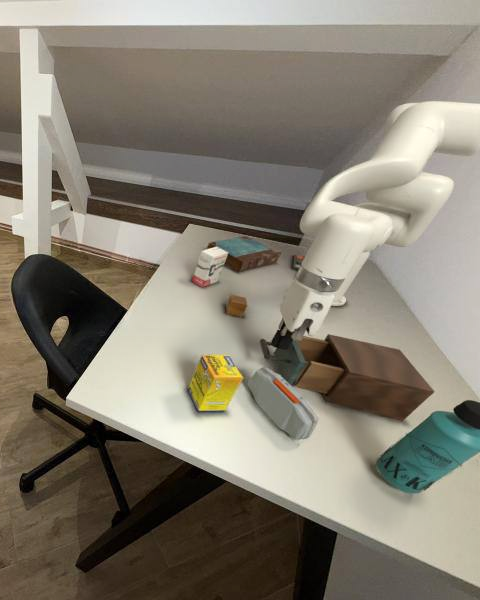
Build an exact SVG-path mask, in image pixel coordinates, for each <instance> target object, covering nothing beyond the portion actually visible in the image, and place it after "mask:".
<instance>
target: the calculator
mask: <svg viewBox="0 0 480 600" xmlns="http://www.w3.org/2000/svg"><path fill="white" fill-rule="evenodd" d="M304 258H305V256H303V255H299V254H294V255H293V261H292V270H296V271H298V269H299V267H300V265H301V263H302V262H303V260H304Z"/></svg>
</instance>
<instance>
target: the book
mask: <svg viewBox="0 0 480 600" xmlns="http://www.w3.org/2000/svg"><path fill="white" fill-rule="evenodd" d="M213 247H219V248H221V249H222V250H224V251H226V252H228V255H227V258H226V261H225V263H224V266H225V267H227V268H229V269H230V270H233V271H235V272H236V273H242V272H246V271H250V270H254V269H257V268H258V269H259V268H262V267H265V266H271V265H274V264H276V263H277V262H278V261H279V259H280V257H281V254H282V252H281V251H277V250H276V249H274V248H272V247H270V246H268V245H266V244H264V243H261V242H260V241H257V240H254V239H253V238H250V237H248V236H246V235H245V236H238V237H233V238H227V239H222V240H216V241H211V242H208V245H207V246H206V249H210V248H213Z"/></svg>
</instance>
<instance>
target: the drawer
mask: <svg viewBox="0 0 480 600" xmlns="http://www.w3.org/2000/svg"><path fill="white" fill-rule="evenodd" d="M259 344H260V349H261V352H262V356H263V358H264V359H265V360H266V361H268V360H274V361H275V363H276V367H277V370H278V372H279V375H280V376H281V377H282V378H283V379H285V380H286V381H287V382H288V383H289V384H290V385H291V386H292V385H293V384H295V387H298V388H302V389H305V390H310V391H313V392H318V393H321V394H322V393H325V394H329V393H330V392H331V391H332V389H333V388H334V387H335V386H336V384H337V383H338V382H339V381H340V379H341V378H342V377H343V376H344V374H345V373H346V370H345V368H344V367H343V365H342V363H341V361H340V360H339V358H338V356H337V354H336V353H335V351H334V349H333V347H332V346H331V344H330V342H329V341H325V340H324V339H320V338H315V337H312V336H308V335H307V336H306V335H303V338H302V340H301V341H296V340H293V341H292V343H291V345H290V346H289V348H288V349H287V350H284V349H279V348H274V352H273V355H272V354H271V352H270V349H269V347H273V346H272V343H271V341H267V339H265V338H261V339H259Z"/></svg>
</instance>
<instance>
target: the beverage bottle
mask: <svg viewBox="0 0 480 600" xmlns="http://www.w3.org/2000/svg"><path fill="white" fill-rule="evenodd" d="M452 409H453V411H447V410H434V411H433V412H431V413H430V415H429V416H427V418H425V419H424V420H422V421H421V422H420V423H419V424H418V425H417V426H415V427H414V428H413V429H412V430H411V431H409V432H407V433H405V435H403V436H402V437H400V438H399V439H397V441H395V442H394V443H393V444H391V446H389V447H388V448H387V449H386V450H384V452H382V453H381V455H379V457H377V459H376V462H375V463H376V464H375V466H376V469H377V471H378V473H379V474H380V475H381V477H383V479H384V480H385V481H386V482H388V484H390V485H391V486H393V487H394V488H396V489H398V490H399V491H401V492H403V493H407V494H410V495H411V494H412V495H413V494H420V493H422V492H426V491H427V490H428V489H430V488H431V487H432V486H435V485H436V484H438V483H439V481H441V480H443V479H444V478H446V477H447V476H448V475H449V474H453V472H454V471H455V470H456V469H458V468H462V466H463V464H465V463H466V462H468V461H469V460H471V459H472V458H473V457H475V456H476V455H477V454H479V453H480V401H476V400H473V399H466V400H463V401H462V402H460V403H459V404H457V405H455V406H454V407H453V408H452Z"/></svg>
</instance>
